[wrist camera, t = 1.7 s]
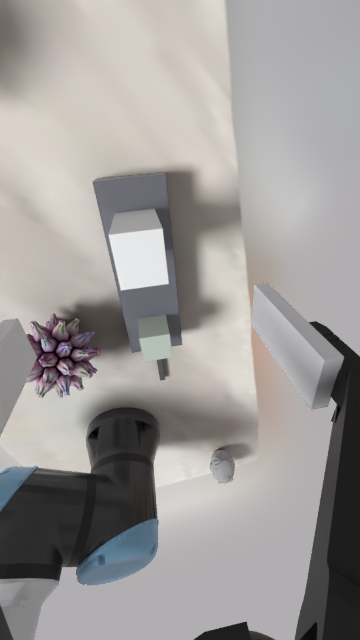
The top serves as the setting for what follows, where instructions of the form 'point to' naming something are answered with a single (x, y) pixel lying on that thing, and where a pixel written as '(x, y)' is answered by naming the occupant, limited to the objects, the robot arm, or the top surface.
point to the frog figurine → (222, 466)
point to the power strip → (163, 298)
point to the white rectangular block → (138, 249)
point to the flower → (60, 356)
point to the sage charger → (154, 338)
